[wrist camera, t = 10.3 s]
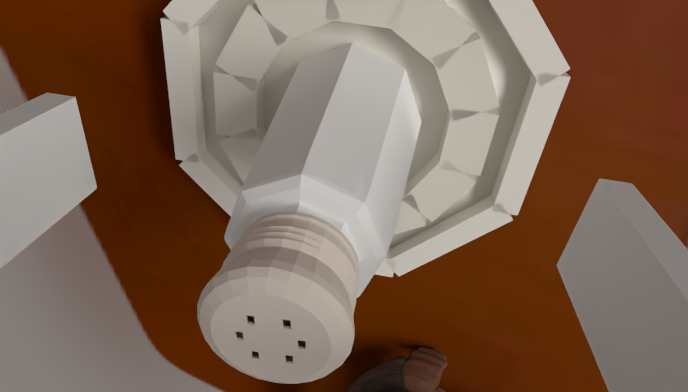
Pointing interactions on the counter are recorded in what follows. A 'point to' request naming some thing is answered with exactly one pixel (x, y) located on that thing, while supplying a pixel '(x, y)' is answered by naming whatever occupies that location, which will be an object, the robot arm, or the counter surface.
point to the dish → (426, 83)
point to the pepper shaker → (313, 218)
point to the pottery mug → (404, 374)
